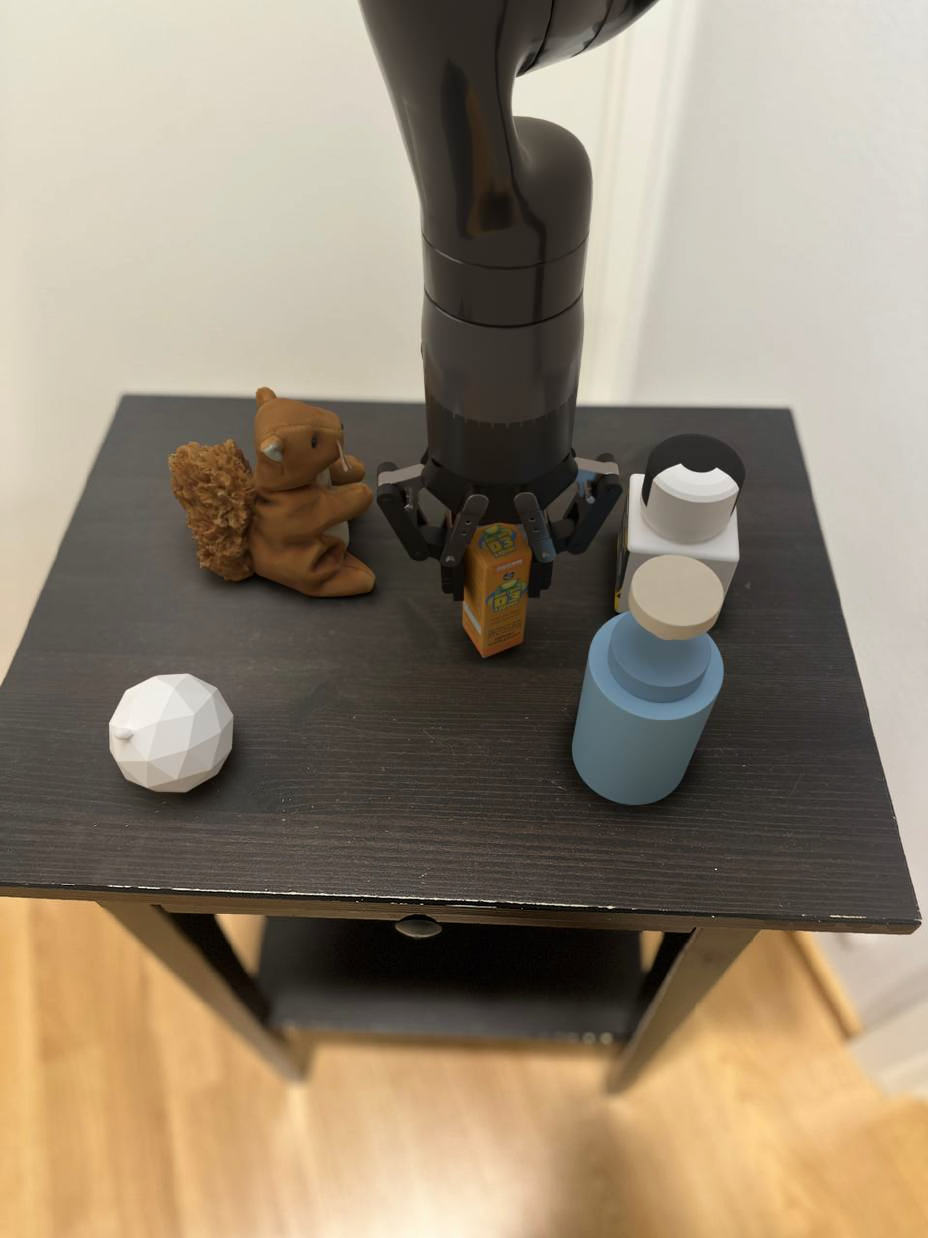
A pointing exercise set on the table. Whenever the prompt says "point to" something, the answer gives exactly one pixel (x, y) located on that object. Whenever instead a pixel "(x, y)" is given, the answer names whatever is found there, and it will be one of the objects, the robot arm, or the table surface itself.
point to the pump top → (675, 597)
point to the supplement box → (496, 587)
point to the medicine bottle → (682, 510)
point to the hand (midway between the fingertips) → (495, 588)
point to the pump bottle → (642, 710)
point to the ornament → (171, 733)
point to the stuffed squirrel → (278, 501)
